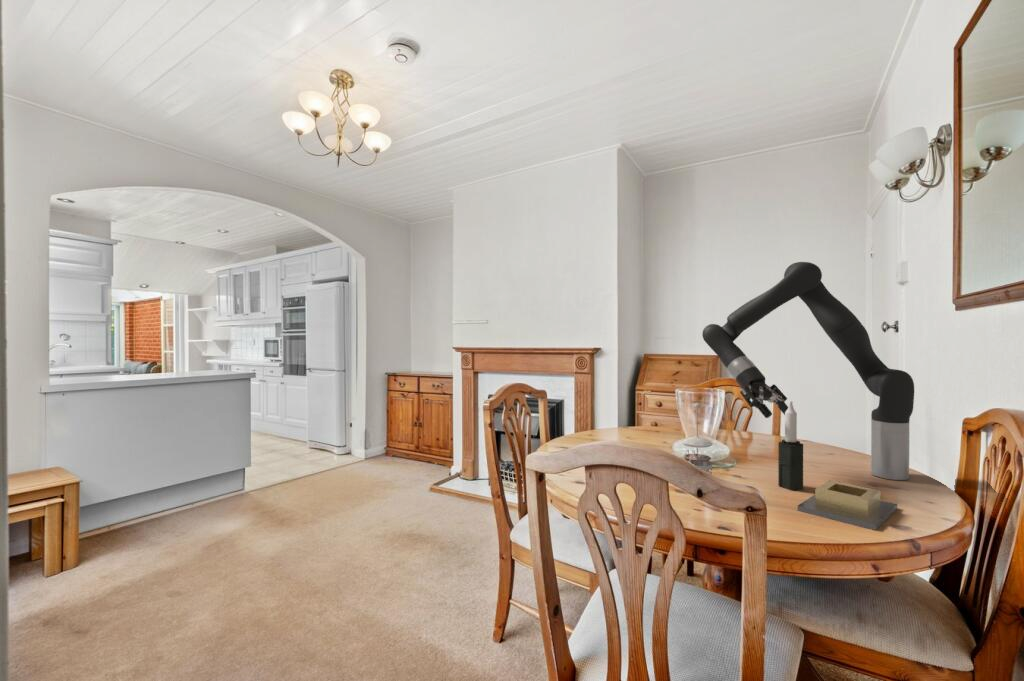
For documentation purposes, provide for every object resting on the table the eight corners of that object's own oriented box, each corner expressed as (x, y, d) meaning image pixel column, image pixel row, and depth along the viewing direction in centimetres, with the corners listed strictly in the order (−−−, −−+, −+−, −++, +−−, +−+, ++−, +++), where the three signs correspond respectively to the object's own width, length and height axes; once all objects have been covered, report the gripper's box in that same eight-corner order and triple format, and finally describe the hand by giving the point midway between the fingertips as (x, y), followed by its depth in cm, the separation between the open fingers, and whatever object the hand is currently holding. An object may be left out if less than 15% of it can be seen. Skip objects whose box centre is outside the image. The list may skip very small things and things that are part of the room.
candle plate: (824, 492, 132) (824, 474, 132) (897, 508, 120) (897, 489, 120) (797, 510, 119) (797, 490, 119) (875, 530, 107) (875, 508, 107)
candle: (805, 488, 135) (805, 401, 135) (792, 491, 134) (792, 402, 133) (788, 483, 140) (789, 399, 140) (776, 485, 138) (776, 400, 138)
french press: (721, 490, 134) (721, 403, 134) (704, 501, 126) (704, 407, 126) (688, 483, 141) (688, 399, 141) (669, 492, 133) (669, 404, 133)
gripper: (736, 366, 145) (771, 409, 134) (768, 365, 151) (803, 405, 140) (722, 382, 150) (754, 424, 139) (753, 380, 156) (786, 420, 145)
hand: (779, 415), depth 140 cm, fingers open, 8 cm apart
